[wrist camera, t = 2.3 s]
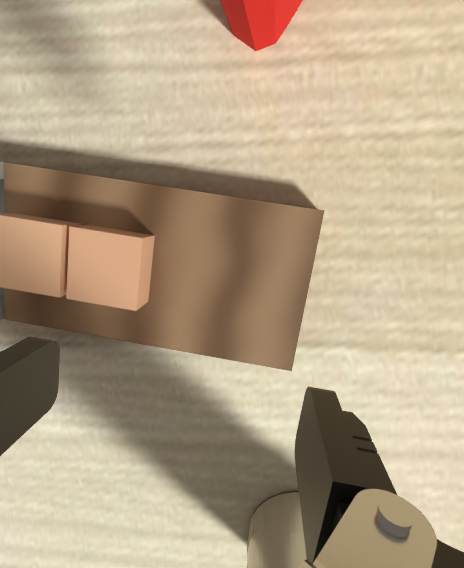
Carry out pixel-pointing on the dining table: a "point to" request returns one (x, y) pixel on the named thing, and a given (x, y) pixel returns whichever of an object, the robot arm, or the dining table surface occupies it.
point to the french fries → (259, 20)
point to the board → (181, 265)
